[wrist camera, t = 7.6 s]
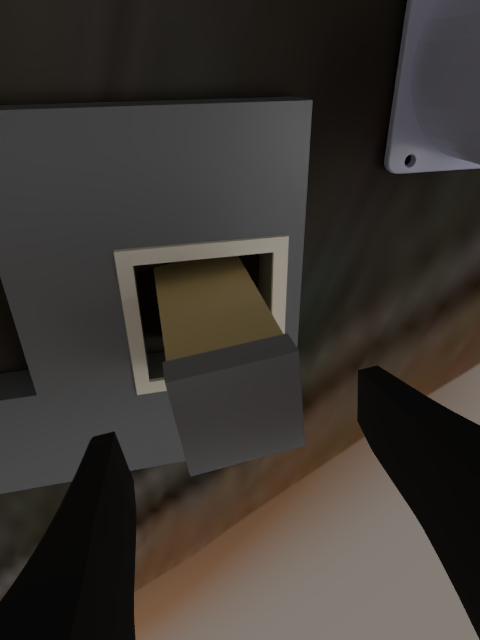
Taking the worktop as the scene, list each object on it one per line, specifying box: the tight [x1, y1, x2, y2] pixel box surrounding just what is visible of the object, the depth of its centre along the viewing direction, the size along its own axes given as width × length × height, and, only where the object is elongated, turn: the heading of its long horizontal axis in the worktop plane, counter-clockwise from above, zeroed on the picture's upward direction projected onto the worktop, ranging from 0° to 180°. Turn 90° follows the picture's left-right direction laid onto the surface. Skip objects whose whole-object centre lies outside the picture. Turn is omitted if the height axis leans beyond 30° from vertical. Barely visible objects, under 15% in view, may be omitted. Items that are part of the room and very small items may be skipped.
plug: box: [153, 256, 305, 476], centre depth 17 cm, size 4×4×8 cm
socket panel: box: [0, 96, 313, 494], centre depth 18 cm, size 18×16×2 cm
